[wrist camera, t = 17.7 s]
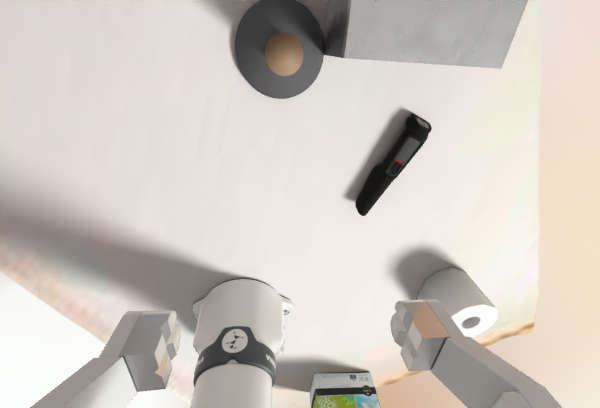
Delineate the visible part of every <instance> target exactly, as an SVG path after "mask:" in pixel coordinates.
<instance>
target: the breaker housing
mask: <svg viewBox="0 0 600 408" xmlns="http://www.w3.org/2000/svg"><path fill="white" fill-rule="evenodd" d="M527 2H528V0H328V4H327V15H326V26H325V37H324V55H329V56H335V57H341V58H352V59H367V60H382V61H397V62H412V63H426V64H441V65H456V66H471V67H486V68H502V65H503V63H504V60H505V58H506V55H507V53H508V50H509V48H510V45H511V43H512V40H513V37H514V35H515V32H516V30H517V27H518V25H519V22H520V20H521V17H522V15H523V12H524V9H525V7H526V4H527Z"/></svg>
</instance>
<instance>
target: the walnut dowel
mask: <svg viewBox="0 0 600 408" xmlns="http://www.w3.org/2000/svg"><path fill="white" fill-rule="evenodd" d="M265 59H266V62H267V65H268V66H269V68H270V69H271V70H272V71H273V72H274V73H276V74H278V75H280V76H289V75H292V74H294V73H295V72H296V71H297V70H298V69H299V68H300V66H301V64H302V61H303V48H302V45H301V43H300V41H299V40H298V39H297V38H296V37H295V36H294V35H293V34H291V33H288V32H280V33H277V34H275V35H273V36H272V37H271V38H270V39H269V41H268V43H267V45H266V48H265Z"/></svg>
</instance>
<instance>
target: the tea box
mask: <svg viewBox="0 0 600 408" xmlns="http://www.w3.org/2000/svg"><path fill="white" fill-rule="evenodd" d="M310 404H311V408H381V407H380V403H379V400H378V396H377V393H376V389H375V386H374V383H373V380H372V376H371V374H370V372H367V373H314V376H313V382H312V386H311V391H310Z"/></svg>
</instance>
